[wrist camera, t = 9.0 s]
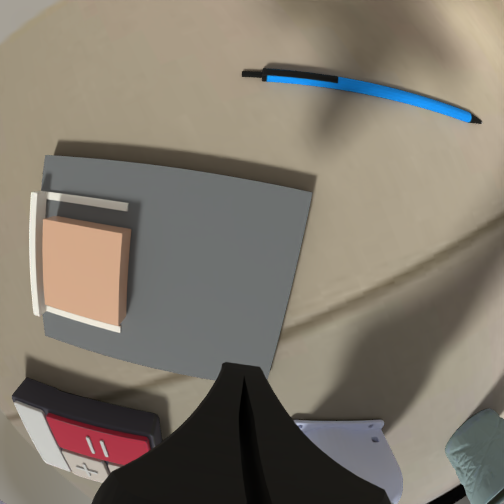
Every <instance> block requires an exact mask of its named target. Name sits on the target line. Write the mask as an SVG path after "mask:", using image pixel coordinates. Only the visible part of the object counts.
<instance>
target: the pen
mask: <svg viewBox="0 0 504 504" xmlns="http://www.w3.org/2000/svg"><path fill="white" fill-rule="evenodd" d="M242 77H259V78H262V81H267V82H281V83H292V84H302V85H311V86H319V87H326V88H333V89H339V90H345V91H351V92H357V93H362V94H367V95H372V96H377V97H381V98H386V99H390V100H394V101H399V102H403V103H406V104H410V105H414V106H418V107H421V108H425V109H428V110H432V111H435V112H438V113H441V114H444V115H447V116H450V117H453V118H456V119H459V120H462V121H465V122H468V123H478V124H481V123H483V122H482V121H481V120H479V119H478V118H477V117H475V116H474V115H472V114H471V113H470V112H467V111H465V110H462V109H459V108H457V107H454V106H451V105H448V104H445V103H442V102H439V101H436V100H433V99H430V98H427V97H424V96H420V95H417V94H413V93H410V92H406V91H402V90H399V89H395V88H391V87H387V86H382V85H378V84H374V83H369V82H364V81H359V80H354V79H349V78H343V77H337V76H331V75H324V74H317V73H309V72H301V71H291V70H280V69H266V68H263V70H262V72H253V71H242Z"/></svg>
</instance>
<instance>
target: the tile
mask: <svg viewBox="0 0 504 504" xmlns="http://www.w3.org/2000/svg"><path fill="white" fill-rule="evenodd" d="M130 239H131V229H128V228H122V227H117V226H111V225H105V224H100V223H94V222H88V221H83V220H77V219H71V218H65V217H60V216H52V217H49V218H45V219H43V240H42V256H43V284H44V299H45V305H48V306H51V307H54V308H57V309H60V310H63V311H66V312H70V313H73V314H76V315H80V316H83V317H86V318H90V319H93V320H97V321H101V322H104V323H108V324H112V325H116V326H119V325H120V324H121V322H122V321H123V320H124V318H125V317H126V305H127V280H128V264H129V250H130Z"/></svg>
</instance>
